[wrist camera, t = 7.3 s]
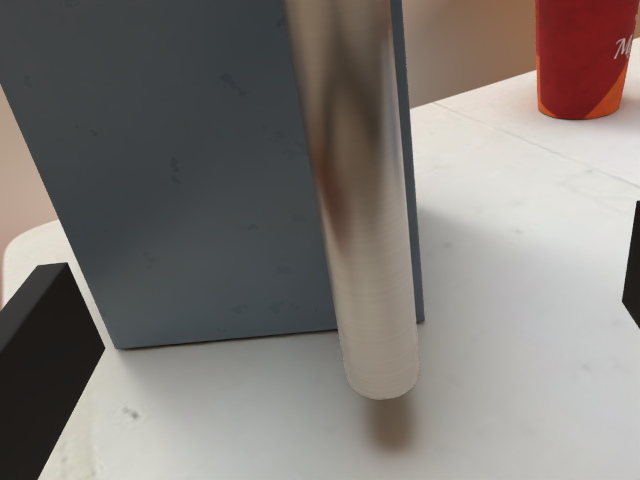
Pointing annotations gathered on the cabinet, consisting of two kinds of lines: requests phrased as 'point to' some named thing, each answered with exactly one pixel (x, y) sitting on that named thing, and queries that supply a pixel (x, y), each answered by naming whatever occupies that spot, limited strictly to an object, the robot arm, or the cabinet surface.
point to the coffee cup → (583, 55)
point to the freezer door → (230, 168)
